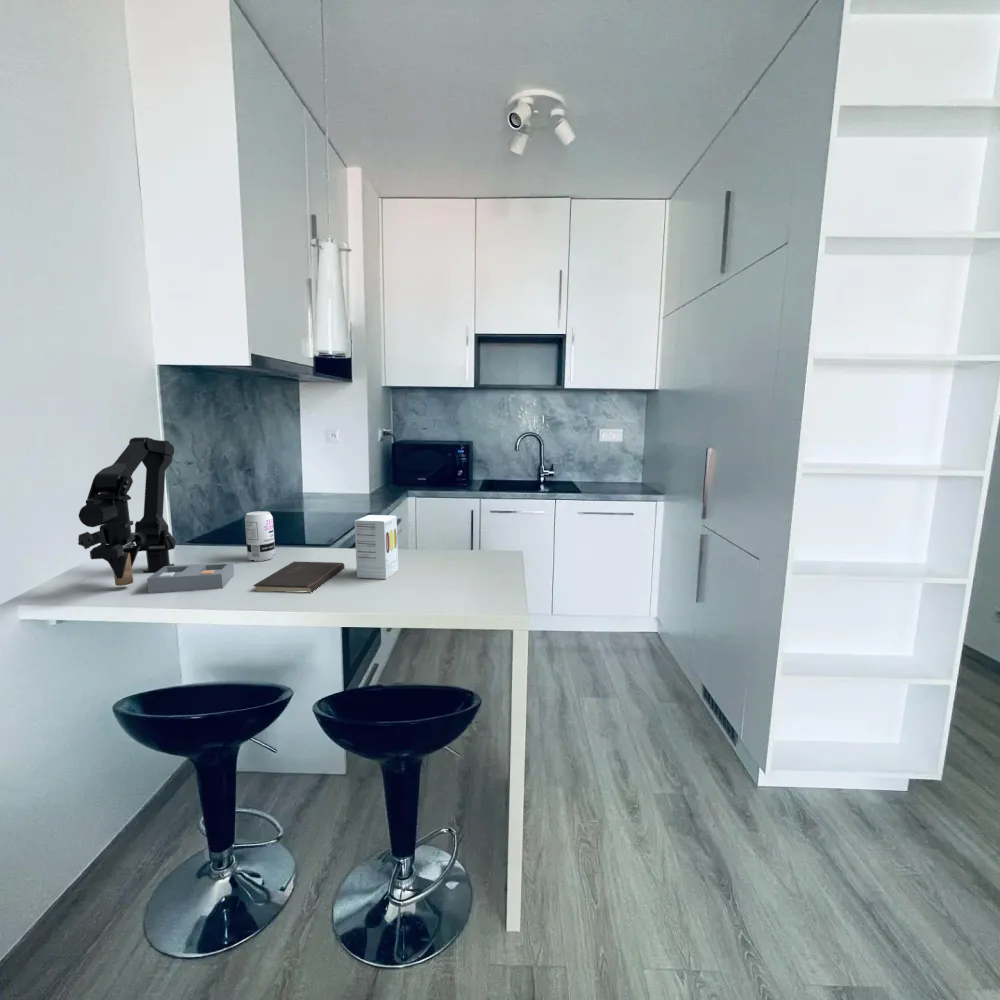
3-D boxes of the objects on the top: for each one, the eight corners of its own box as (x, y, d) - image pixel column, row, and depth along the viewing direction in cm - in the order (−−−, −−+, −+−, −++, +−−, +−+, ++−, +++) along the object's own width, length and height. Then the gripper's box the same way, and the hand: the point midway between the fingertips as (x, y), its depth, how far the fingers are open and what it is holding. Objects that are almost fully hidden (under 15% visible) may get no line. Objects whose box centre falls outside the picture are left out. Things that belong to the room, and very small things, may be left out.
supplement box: (386, 579, 155) (384, 521, 152) (356, 578, 157) (353, 520, 154) (399, 570, 164) (397, 515, 161) (370, 568, 166) (368, 514, 163)
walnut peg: (119, 581, 150) (116, 553, 148) (135, 580, 150) (132, 552, 149) (112, 586, 146) (109, 556, 144) (129, 585, 147) (126, 556, 145)
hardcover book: (254, 593, 145) (253, 585, 145) (294, 568, 168) (293, 561, 168) (312, 595, 144) (311, 586, 144) (344, 569, 167) (344, 562, 166)
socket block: (166, 579, 156) (164, 565, 155) (234, 575, 159) (233, 561, 159) (148, 593, 144) (147, 577, 144) (222, 588, 148) (221, 572, 147)
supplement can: (248, 556, 180) (245, 511, 178) (275, 554, 183) (272, 510, 180) (247, 563, 173) (243, 516, 170) (275, 560, 175) (271, 514, 173)
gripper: (99, 514, 153) (106, 568, 155) (62, 528, 135) (70, 589, 137) (144, 512, 155) (150, 565, 157) (113, 525, 137) (120, 585, 139)
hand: (123, 576), depth 148 cm, fingers closed on walnut peg, 4 cm apart
